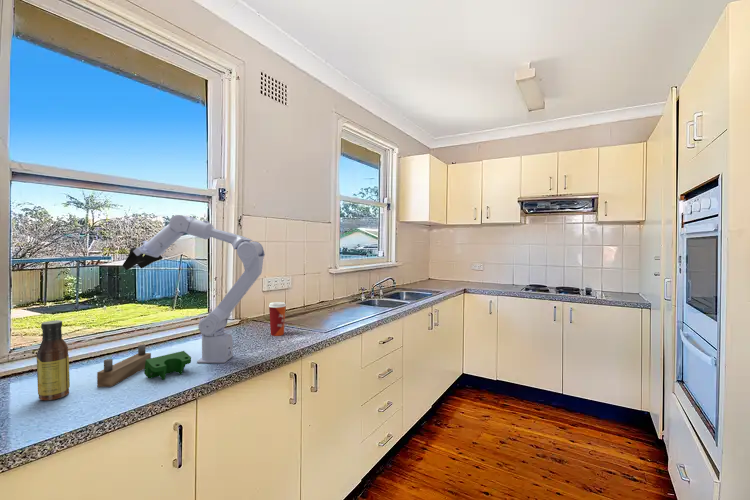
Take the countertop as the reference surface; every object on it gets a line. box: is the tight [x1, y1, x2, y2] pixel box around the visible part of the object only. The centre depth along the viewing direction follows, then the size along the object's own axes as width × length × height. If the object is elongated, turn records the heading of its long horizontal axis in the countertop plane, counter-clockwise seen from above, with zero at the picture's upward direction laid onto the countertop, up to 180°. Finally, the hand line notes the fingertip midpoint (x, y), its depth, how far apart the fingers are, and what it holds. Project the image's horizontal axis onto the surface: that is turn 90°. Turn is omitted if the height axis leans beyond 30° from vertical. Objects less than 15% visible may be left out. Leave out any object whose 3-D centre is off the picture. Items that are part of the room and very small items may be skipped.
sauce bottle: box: [36, 319, 71, 402], centre depth 94 cm, size 7×6×20 cm
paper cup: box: [268, 301, 287, 337], centre depth 161 cm, size 8×8×14 cm
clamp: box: [143, 350, 192, 380], centre depth 111 cm, size 12×6×9 cm, turn 138°
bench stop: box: [96, 343, 152, 388], centre depth 110 cm, size 4×18×7 cm, turn 0°
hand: (132, 266), depth 125 cm, fingers open, 7 cm apart
